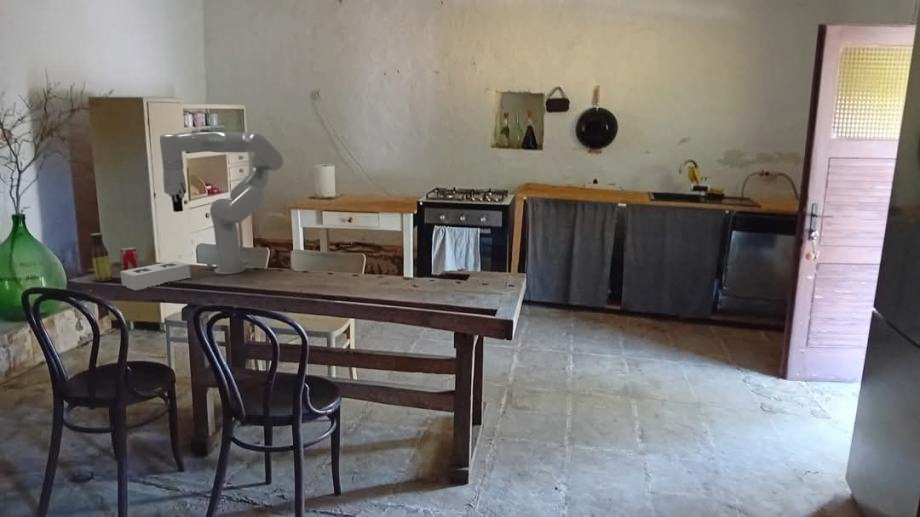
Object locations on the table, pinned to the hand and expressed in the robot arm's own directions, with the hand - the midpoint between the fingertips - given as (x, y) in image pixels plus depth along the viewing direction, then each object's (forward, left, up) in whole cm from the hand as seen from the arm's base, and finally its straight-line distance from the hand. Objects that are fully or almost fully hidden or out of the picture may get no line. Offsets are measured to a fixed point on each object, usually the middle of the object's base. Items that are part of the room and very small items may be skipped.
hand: (178, 211), depth 269 cm
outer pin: (+14, -8, -29) cm, 33 cm away
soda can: (+10, -28, -29) cm, 42 cm away
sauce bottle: (+21, -29, -29) cm, 46 cm away
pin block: (+8, -8, -29) cm, 31 cm away
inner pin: (+3, -8, -29) cm, 30 cm away
